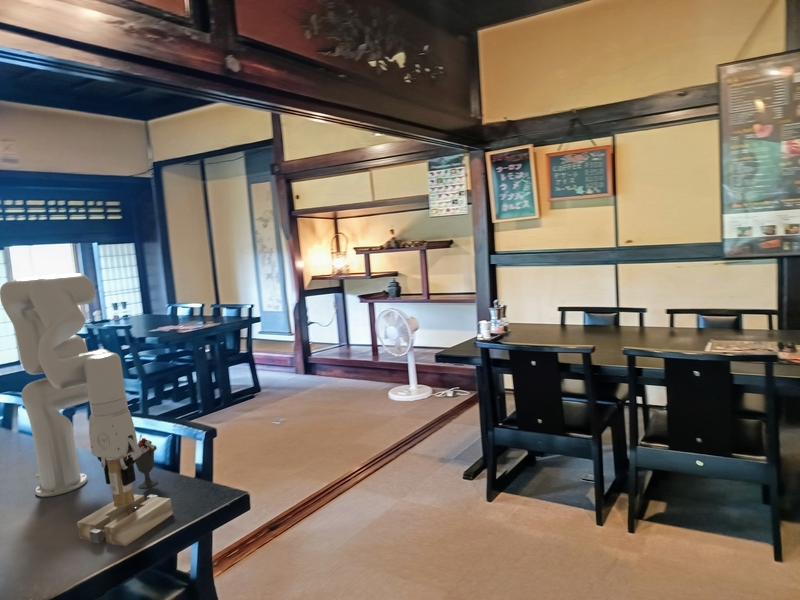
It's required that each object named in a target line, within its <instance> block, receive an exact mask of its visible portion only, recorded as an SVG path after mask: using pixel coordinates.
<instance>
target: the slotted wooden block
mask: <svg viewBox="0 0 800 600" xmlns="http://www.w3.org/2000/svg"><path fill="white" fill-rule="evenodd" d="M133 495H134V498H135V500H134V502H133V503H132V504H130V505H128V506H125V507H120V508H118V507H115V506H114V500H113V501H112V502H109V503H108V504H106V505H105V506H102V507H101V508H99V509H97V510H96V511H94V512H93V513H90V514H89V515H88V516H85V517H83V518H82V519H81V520H79V521H77V522H76V525H77V530H78V537H79V539H80V540H84V541H90V542H91V539H90V533H89V532H90V531H91V530H93V529H98V530H103V529H105V533H104V534H103V539H104V538H105V540H106V544H108V545H113V546H114V545H115V546H120V547H121V546H122V547H127V546H128V545H130V544H131V543H133V542H134V541H136V540H137V539H138V538H140V537H141V536H143V535H144V534H146V533H147V532H149V531H150V530H152V529H154V527H156V526H157V525H159V524H160V523H162V522H164V521H165V520H166V519H168V518H170V516H172V515H173V513H174V511H173V506H172V500H171V498H170V497H168V498H167V497H161V496H160V497H159V496H158V497H151V498H149V499H148V500H147V499H145V495H144V494H135V493H133ZM140 506H141V508H140V509H138V510H137V511H135V512H133V513H132V509H133V508H134V507H140ZM113 520H114V521H113Z"/></svg>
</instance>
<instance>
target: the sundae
mask: <svg viewBox="0 0 800 600" xmlns="http://www.w3.org/2000/svg"><path fill="white" fill-rule="evenodd" d="M139 439H140V440H139V441H137V447H138V448H139V450H140V451H141V453H142V455H141V456H140V457H139V458H137V460H136V462H135V465H136V468H137V471H138V472H139V473H142V474H144V481H143V482H141V483H140V484H139V485H138V489H141V490H142V489H143V490H147V489H150V488H154V487H156V485H158V483H159V481H158V480H156V479H151V477H150V472H151V471H152V470H153V468H154V466H155V451H156V450H157V449H158V448H157V446H156V445H154V444H152V441H151V440H149V439H146V438H145V437H142V434H140V435H139Z"/></svg>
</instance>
